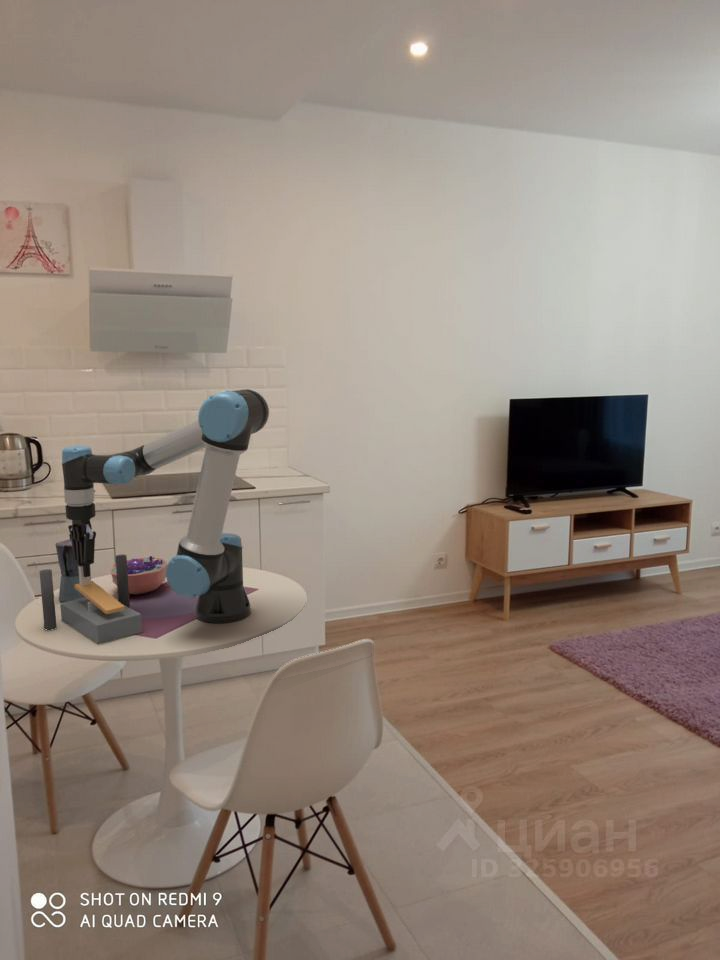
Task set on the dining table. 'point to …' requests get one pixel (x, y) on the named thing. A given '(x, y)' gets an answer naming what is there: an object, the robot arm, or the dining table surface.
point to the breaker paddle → (100, 598)
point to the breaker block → (100, 621)
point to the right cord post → (122, 580)
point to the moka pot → (68, 572)
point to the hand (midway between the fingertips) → (85, 587)
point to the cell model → (143, 574)
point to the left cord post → (48, 599)
